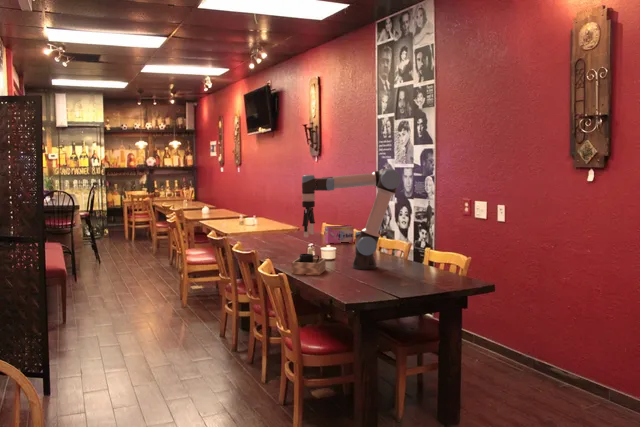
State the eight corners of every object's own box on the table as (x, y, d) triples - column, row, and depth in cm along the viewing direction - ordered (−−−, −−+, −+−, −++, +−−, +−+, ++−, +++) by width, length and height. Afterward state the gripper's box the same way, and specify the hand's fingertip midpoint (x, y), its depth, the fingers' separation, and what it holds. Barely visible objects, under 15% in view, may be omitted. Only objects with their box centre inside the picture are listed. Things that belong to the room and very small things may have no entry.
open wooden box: (325, 269, 366) (325, 258, 365) (319, 275, 349) (319, 263, 349) (299, 268, 370) (298, 257, 369) (291, 274, 353) (291, 262, 352)
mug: (320, 270, 357) (320, 255, 357) (301, 271, 355) (301, 256, 354) (317, 268, 365) (317, 253, 365) (298, 269, 363) (298, 253, 362)
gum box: (351, 241, 491) (351, 225, 490) (355, 242, 484) (355, 226, 482) (324, 242, 484) (324, 226, 482) (327, 244, 476) (327, 227, 475)
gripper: (307, 199, 368) (307, 232, 370) (297, 202, 344) (297, 238, 346) (319, 199, 367) (319, 233, 369) (309, 202, 342) (310, 238, 344)
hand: (308, 235), depth 357 cm, fingers open, 13 cm apart
